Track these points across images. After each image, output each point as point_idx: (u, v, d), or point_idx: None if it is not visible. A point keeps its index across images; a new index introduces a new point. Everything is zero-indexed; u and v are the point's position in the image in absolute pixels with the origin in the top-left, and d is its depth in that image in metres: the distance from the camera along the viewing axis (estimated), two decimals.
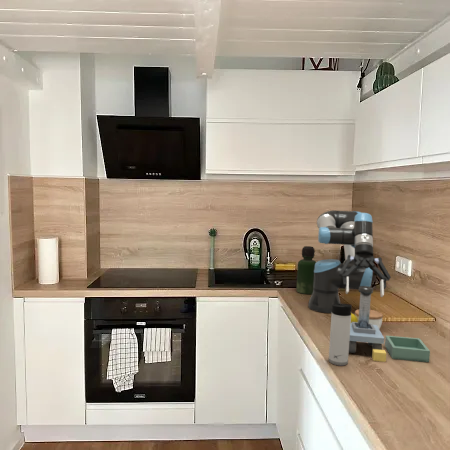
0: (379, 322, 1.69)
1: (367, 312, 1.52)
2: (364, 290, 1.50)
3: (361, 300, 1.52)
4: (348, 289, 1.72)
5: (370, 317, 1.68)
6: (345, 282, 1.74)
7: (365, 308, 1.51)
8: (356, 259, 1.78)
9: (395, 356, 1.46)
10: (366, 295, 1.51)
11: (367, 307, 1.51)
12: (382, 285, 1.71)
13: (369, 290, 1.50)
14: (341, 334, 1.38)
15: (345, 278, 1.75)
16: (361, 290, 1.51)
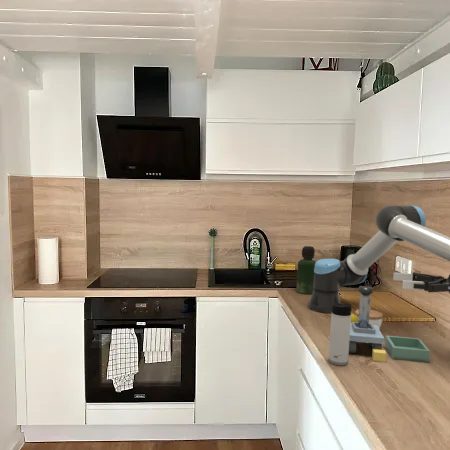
0: (379, 322, 1.69)
1: (367, 312, 1.52)
2: (364, 290, 1.50)
3: (361, 300, 1.52)
4: None
5: (370, 317, 1.68)
6: None
7: (365, 308, 1.51)
8: None
9: (395, 356, 1.46)
10: (366, 295, 1.51)
11: (367, 307, 1.51)
12: None
13: (369, 290, 1.50)
14: (341, 334, 1.38)
15: None
16: (361, 290, 1.51)
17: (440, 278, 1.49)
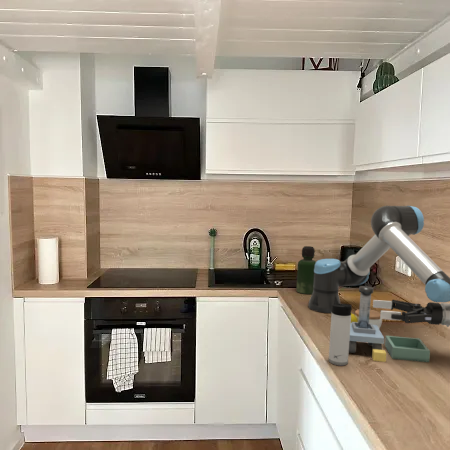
0: (379, 322, 1.69)
1: (367, 312, 1.52)
2: (365, 290, 1.50)
3: (361, 300, 1.52)
4: None
5: (370, 317, 1.68)
6: None
7: (365, 308, 1.51)
8: None
9: (395, 356, 1.46)
10: (366, 295, 1.51)
11: (367, 307, 1.51)
12: (384, 307, 1.58)
13: (369, 290, 1.50)
14: (341, 334, 1.38)
15: None
16: (361, 290, 1.51)
17: (418, 307, 1.50)
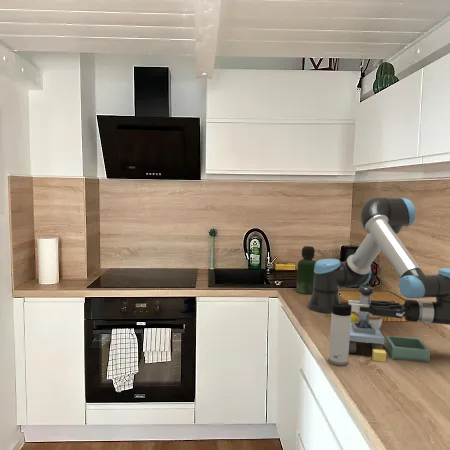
0: (379, 322, 1.69)
1: None
2: (365, 290, 1.50)
3: (361, 300, 1.52)
4: None
5: (370, 317, 1.68)
6: None
7: None
8: None
9: (395, 356, 1.46)
10: (366, 295, 1.51)
11: None
12: None
13: (369, 290, 1.50)
14: (341, 334, 1.38)
15: None
16: (361, 290, 1.51)
17: (397, 305, 1.52)
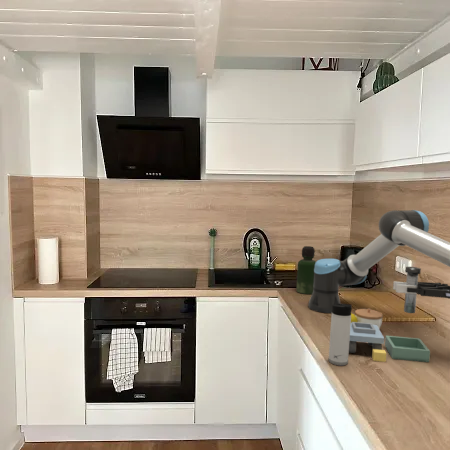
0: (379, 322, 1.69)
1: None
2: (412, 271, 1.46)
3: (408, 281, 1.48)
4: None
5: (370, 317, 1.68)
6: None
7: None
8: None
9: (395, 356, 1.46)
10: (414, 275, 1.47)
11: None
12: None
13: (417, 270, 1.46)
14: (341, 334, 1.38)
15: None
16: (408, 270, 1.47)
17: (445, 285, 1.48)
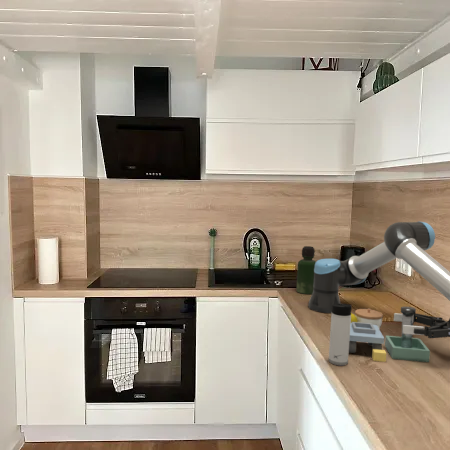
0: (379, 322, 1.69)
1: None
2: (407, 311, 1.48)
3: (404, 321, 1.50)
4: None
5: (370, 317, 1.68)
6: None
7: None
8: None
9: (395, 356, 1.46)
10: (409, 316, 1.48)
11: None
12: None
13: (412, 311, 1.48)
14: (341, 334, 1.38)
15: None
16: (404, 311, 1.49)
17: (441, 321, 1.49)
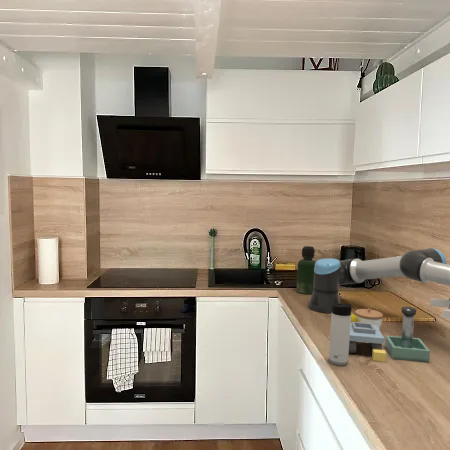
0: (379, 322, 1.69)
1: (411, 334, 1.49)
2: (408, 312, 1.48)
3: (404, 321, 1.49)
4: (445, 317, 1.42)
5: (370, 317, 1.68)
6: None
7: (408, 329, 1.49)
8: None
9: (395, 356, 1.46)
10: (410, 316, 1.48)
11: (411, 329, 1.49)
12: (441, 306, 1.55)
13: (413, 311, 1.47)
14: (341, 334, 1.38)
15: None
16: (404, 311, 1.49)
17: None
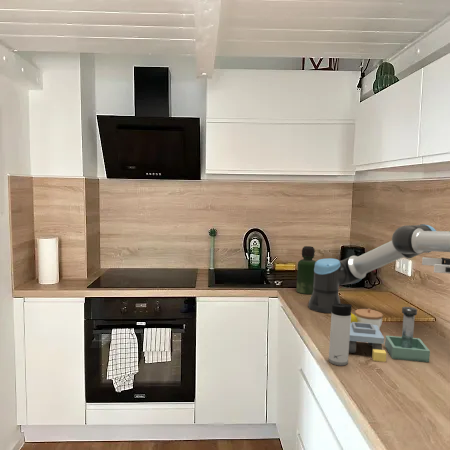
0: (379, 322, 1.69)
1: (411, 334, 1.49)
2: (408, 312, 1.48)
3: (405, 321, 1.49)
4: None
5: (370, 317, 1.68)
6: (447, 271, 1.42)
7: (409, 329, 1.49)
8: None
9: (395, 356, 1.46)
10: (410, 317, 1.48)
11: (411, 329, 1.49)
12: (433, 265, 1.56)
13: (413, 312, 1.47)
14: (341, 334, 1.38)
15: None
16: (405, 311, 1.48)
17: None
